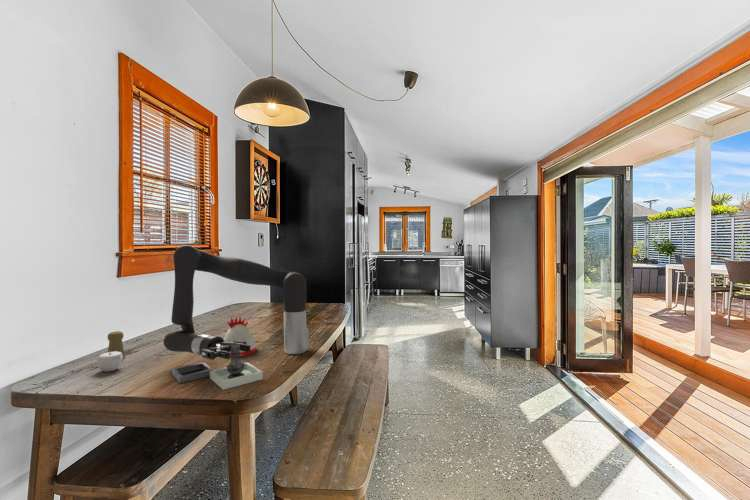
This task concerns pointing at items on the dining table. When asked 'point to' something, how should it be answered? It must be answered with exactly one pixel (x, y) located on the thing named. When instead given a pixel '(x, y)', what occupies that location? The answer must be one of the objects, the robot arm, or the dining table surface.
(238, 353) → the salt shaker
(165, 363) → the dining table surface
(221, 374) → the tray
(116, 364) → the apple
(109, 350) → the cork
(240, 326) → the kitchen timer
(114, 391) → the dining table surface
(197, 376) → the holder
